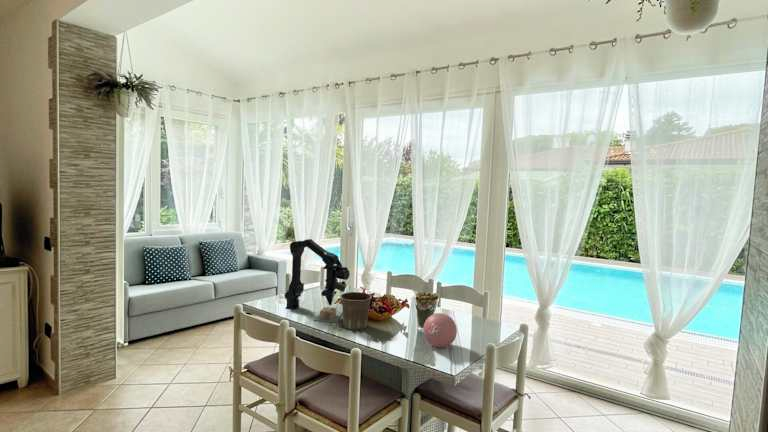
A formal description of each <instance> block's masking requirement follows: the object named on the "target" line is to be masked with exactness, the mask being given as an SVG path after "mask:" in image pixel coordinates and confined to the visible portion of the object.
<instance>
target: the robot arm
mask: <svg viewBox="0 0 768 432" xmlns="http://www.w3.org/2000/svg"><path fill="white" fill-rule="evenodd" d="M305 248H308V249H309V250H311V251H312V252H314V253H315V254H316V255H317V256H318V257H320V258H321V260H322V262H323V263H324V264H325V266H323V267H322V268H323V270H326V273H325V276H326V277H325V279H324V282H325V287H324V290H322V291H321V297H325V298H326V300H327V303H328V305H329V306H332V304H333V300H334V298H335V295H336V294H337V293H338V291H340V292H342V293H344V292H345V291H346V289H347V283H346V281H347V280H348V279H350V278H349V277H350V270H349V269H348V267H347V266H343V265H342V263H341V260H340V259H339V256H338V255H337V254H335V253H333V252H330V251H328V250H326V249H324V248H323V247H322V246H320V245H319V244H318V243H316V241H314V240H313V239H312V238H308V239H304V240H296V241H292V242H291V243H290V244H289V251H290V254H291V255H292V263H291V265H292V267H291V281H290V282H289V285H288V290H287V291H286V292H285V294H283V295H284V298H285V299H286V307H285V309H289V310H297V309H299V308H300V299H299V298H300V297H301V296H302V293H303V291H304V290H305V289H304V286H305V283H303V282H302V281H301V273H302V272H301V271H302V256H303V254H304V252H305ZM339 280H343V281H341V282H340V281H339ZM345 280H346V281H345ZM335 290H338V291H335Z"/></svg>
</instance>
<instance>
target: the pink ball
mask: <svg viewBox="0 0 768 432" xmlns="http://www.w3.org/2000/svg"><path fill="white" fill-rule="evenodd" d="M422 327H423V328H422V331H423V332H422V333H423V336H424V338H425V340H426V342H427V343H428V344H429V345H431V346H432V347H435V348H438V349H439V348H447V347H449V346H450V345H452V344H453V342H454V341H455V340H456V337H457V334H458V333H457V332H458V329H457V324H456V323H455V320H454V319H453V318H452V317H451V316H450V315H448V314H446V313H442V312H438V313H434V314H431V315H429V316H428V317H427V319H426V320H425V322H424V324H423V326H422Z"/></svg>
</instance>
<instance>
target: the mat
mask: <svg viewBox="0 0 768 432" xmlns="http://www.w3.org/2000/svg"><path fill="white" fill-rule="evenodd" d="M341 316H343V311H337V310H336V316H335V317H334V318H333V320H327V319H320V313H319V314H318V315H317V316H316V317H315V318H314V319H313V321H314V322H323V323H324V322H326V323H337V322H338V320H339V319H340V318H341Z"/></svg>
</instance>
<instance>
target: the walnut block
mask: <svg viewBox="0 0 768 432" xmlns="http://www.w3.org/2000/svg"><path fill="white" fill-rule="evenodd" d="M336 311H337V307H328V306H326V307H323V308H322V309H320V310H319V314H320V319H327V320H333V318H334V317H335V316H336Z"/></svg>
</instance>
